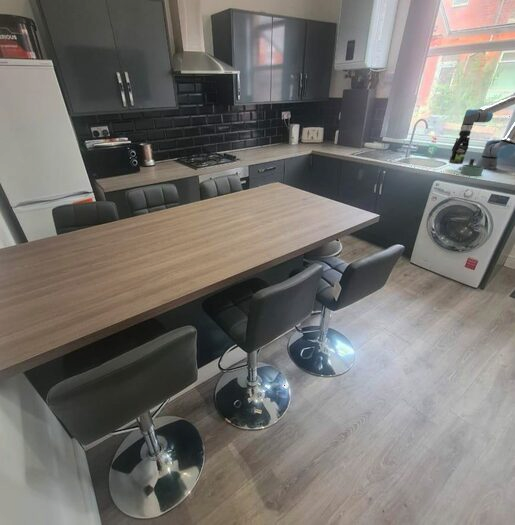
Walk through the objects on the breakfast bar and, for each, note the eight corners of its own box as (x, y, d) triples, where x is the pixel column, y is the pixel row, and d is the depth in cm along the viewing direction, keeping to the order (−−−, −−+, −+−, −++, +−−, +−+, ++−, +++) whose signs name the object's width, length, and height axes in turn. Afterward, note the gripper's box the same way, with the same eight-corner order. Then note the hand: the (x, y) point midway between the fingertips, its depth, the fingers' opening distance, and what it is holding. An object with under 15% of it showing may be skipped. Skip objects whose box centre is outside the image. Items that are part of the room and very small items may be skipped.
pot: (465, 171, 250) (468, 163, 247) (484, 174, 239) (487, 166, 236) (456, 173, 243) (459, 165, 240) (475, 176, 232) (478, 169, 229)
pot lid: (463, 167, 263) (467, 156, 259) (482, 170, 252) (487, 159, 247) (455, 169, 256) (458, 158, 251) (474, 172, 245) (478, 161, 240)
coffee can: (463, 164, 244) (468, 146, 237) (448, 163, 248) (454, 146, 241) (462, 162, 251) (467, 144, 244) (448, 161, 256) (453, 144, 249)
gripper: (461, 131, 230) (452, 161, 241) (479, 130, 238) (469, 158, 249) (452, 131, 236) (443, 159, 247) (469, 129, 244) (461, 157, 255)
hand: (456, 159), depth 248 cm, fingers closed on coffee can, 10 cm apart
